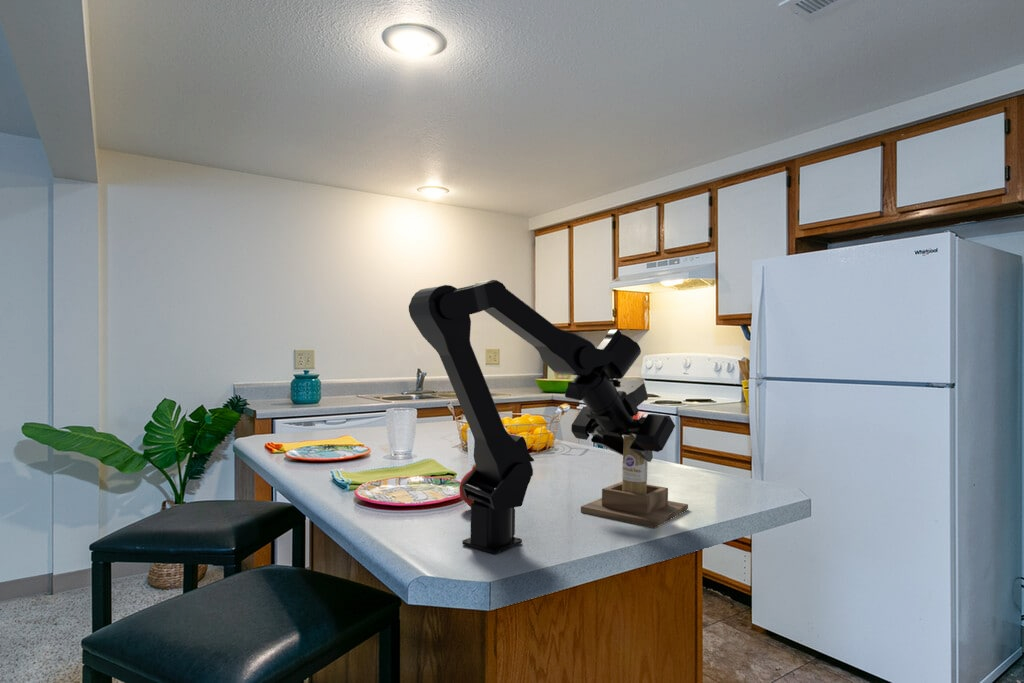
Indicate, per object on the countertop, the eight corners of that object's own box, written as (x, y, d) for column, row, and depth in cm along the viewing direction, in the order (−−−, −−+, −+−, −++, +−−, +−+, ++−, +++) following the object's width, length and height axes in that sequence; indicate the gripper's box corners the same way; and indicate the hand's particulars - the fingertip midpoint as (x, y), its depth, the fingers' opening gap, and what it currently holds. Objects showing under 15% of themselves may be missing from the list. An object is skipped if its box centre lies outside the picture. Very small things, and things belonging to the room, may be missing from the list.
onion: (496, 506, 106) (496, 462, 106) (486, 515, 100) (486, 468, 100) (465, 504, 108) (466, 460, 108) (454, 512, 102) (454, 466, 102)
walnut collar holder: (655, 528, 95) (655, 503, 95) (580, 512, 103) (581, 489, 103) (688, 509, 106) (688, 487, 106) (618, 496, 114) (618, 476, 114)
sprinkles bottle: (618, 499, 103) (620, 423, 103) (624, 494, 107) (626, 420, 108) (644, 503, 101) (646, 425, 102) (650, 497, 106) (651, 422, 106)
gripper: (669, 366, 95) (704, 429, 102) (582, 363, 109) (618, 418, 116) (639, 418, 90) (678, 480, 97) (552, 407, 104) (591, 463, 111)
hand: (639, 457), depth 105 cm, fingers closed on sprinkles bottle, 4 cm apart
